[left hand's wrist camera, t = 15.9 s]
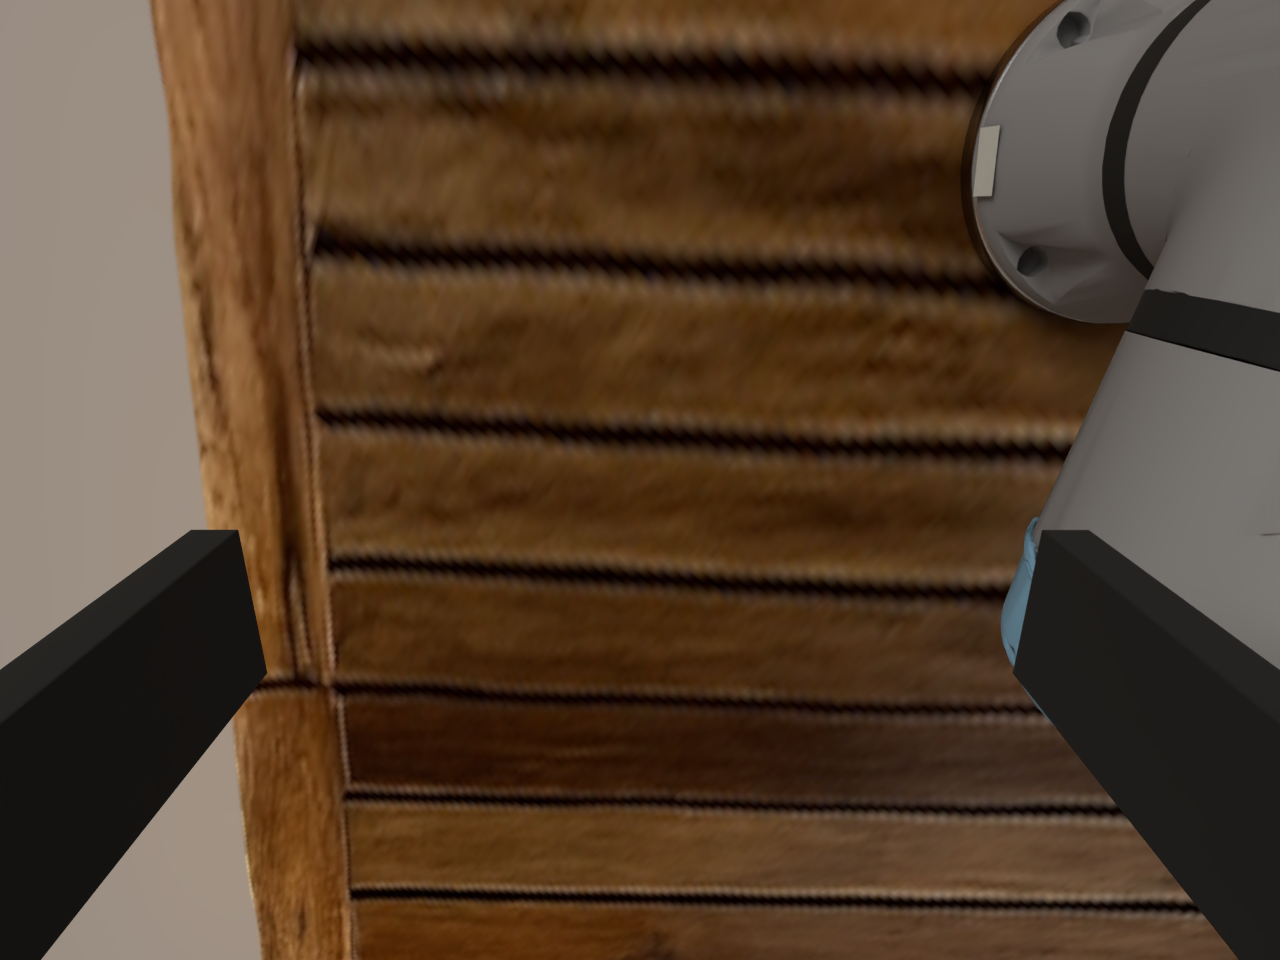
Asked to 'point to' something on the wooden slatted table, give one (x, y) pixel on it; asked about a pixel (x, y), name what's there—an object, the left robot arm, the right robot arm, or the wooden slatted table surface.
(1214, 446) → the left robot arm
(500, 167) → the wooden slatted table surface
